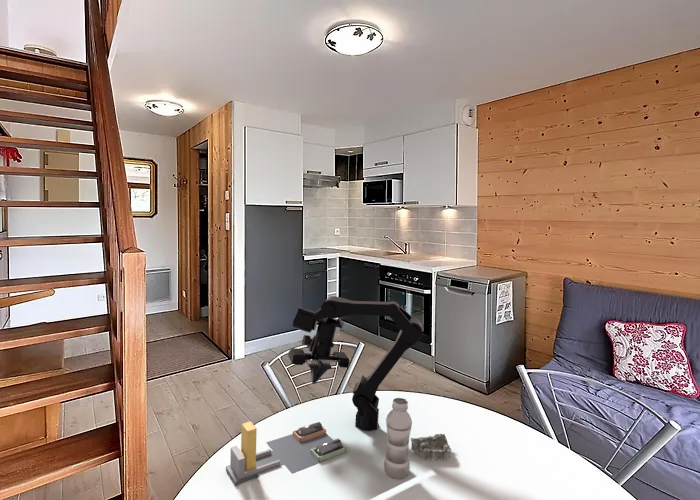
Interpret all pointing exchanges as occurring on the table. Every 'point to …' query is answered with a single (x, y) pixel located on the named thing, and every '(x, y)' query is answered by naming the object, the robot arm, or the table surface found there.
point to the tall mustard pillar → (249, 444)
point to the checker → (282, 455)
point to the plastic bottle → (398, 440)
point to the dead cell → (310, 429)
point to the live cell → (328, 447)
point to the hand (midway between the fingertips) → (313, 383)
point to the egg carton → (432, 442)
